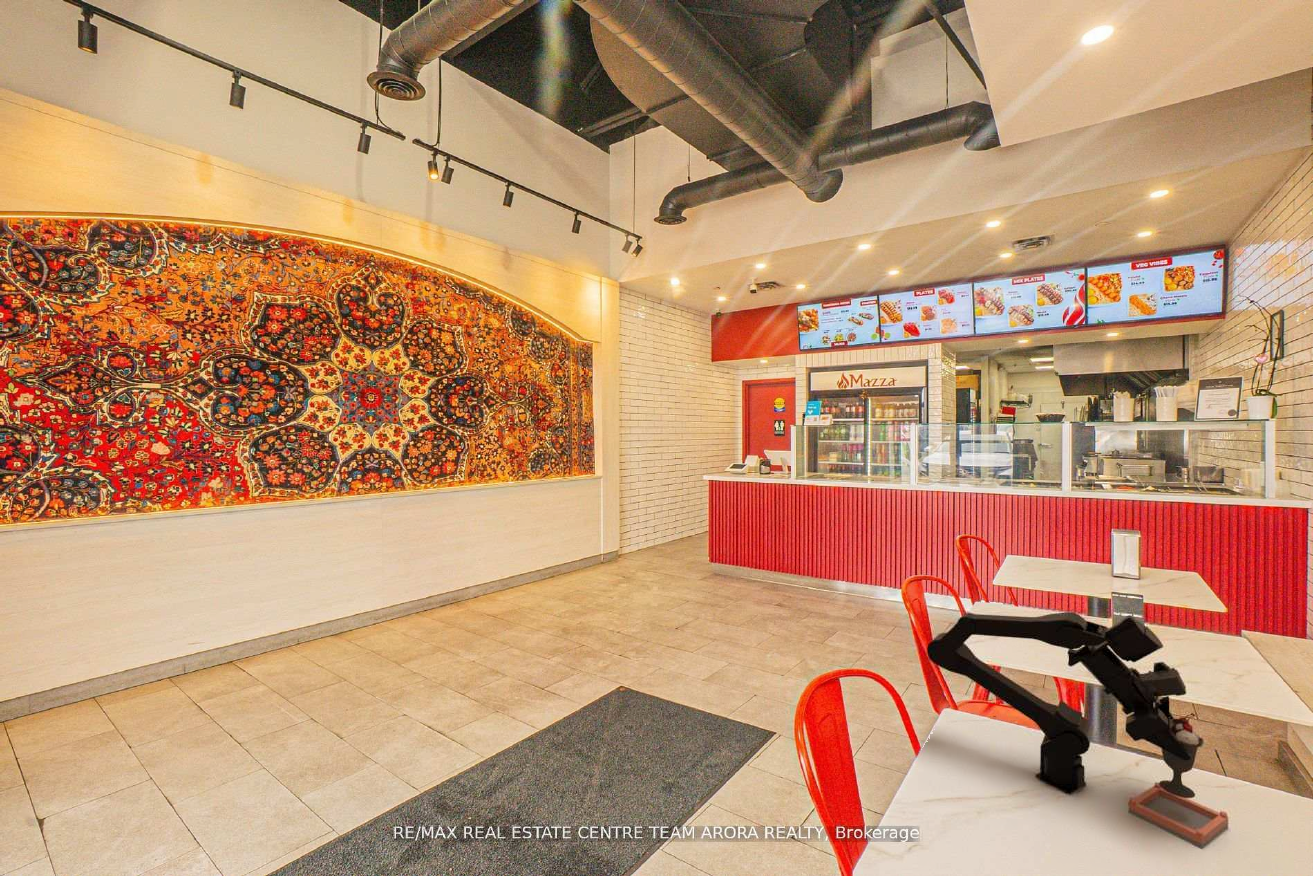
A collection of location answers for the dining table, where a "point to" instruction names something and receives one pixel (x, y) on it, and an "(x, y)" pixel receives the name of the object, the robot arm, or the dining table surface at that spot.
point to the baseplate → (1179, 816)
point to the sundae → (1177, 764)
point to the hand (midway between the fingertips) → (1188, 751)
